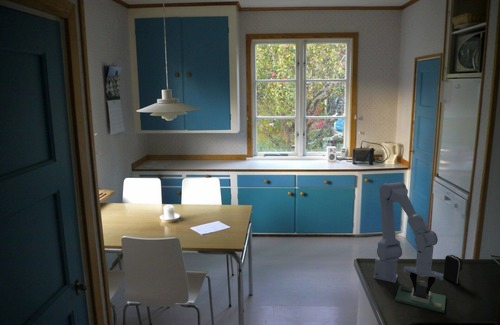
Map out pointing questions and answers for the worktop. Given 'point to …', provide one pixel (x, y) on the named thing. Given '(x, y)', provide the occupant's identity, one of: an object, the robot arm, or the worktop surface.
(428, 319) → the worktop surface
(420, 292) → the plug
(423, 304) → the board
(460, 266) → the battery charger
